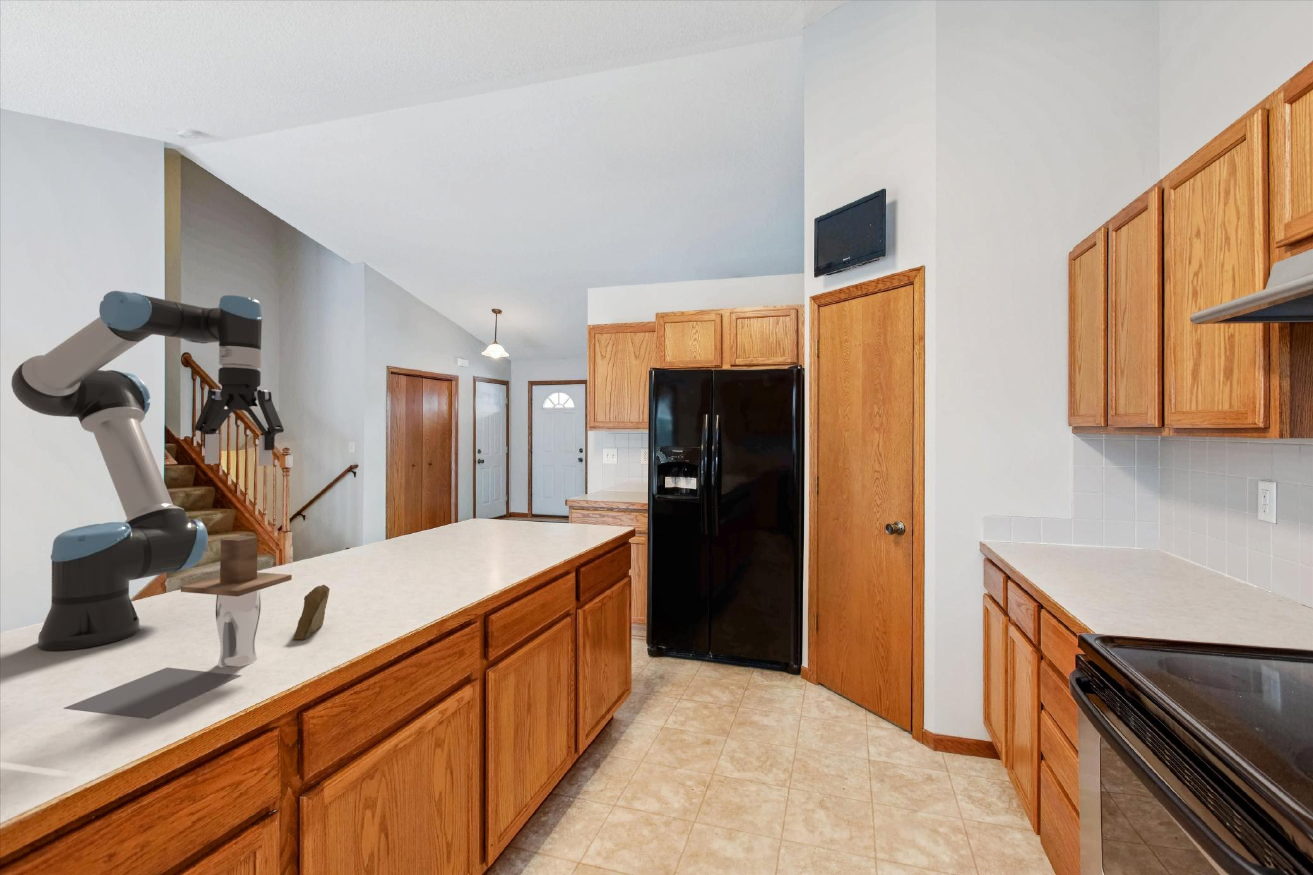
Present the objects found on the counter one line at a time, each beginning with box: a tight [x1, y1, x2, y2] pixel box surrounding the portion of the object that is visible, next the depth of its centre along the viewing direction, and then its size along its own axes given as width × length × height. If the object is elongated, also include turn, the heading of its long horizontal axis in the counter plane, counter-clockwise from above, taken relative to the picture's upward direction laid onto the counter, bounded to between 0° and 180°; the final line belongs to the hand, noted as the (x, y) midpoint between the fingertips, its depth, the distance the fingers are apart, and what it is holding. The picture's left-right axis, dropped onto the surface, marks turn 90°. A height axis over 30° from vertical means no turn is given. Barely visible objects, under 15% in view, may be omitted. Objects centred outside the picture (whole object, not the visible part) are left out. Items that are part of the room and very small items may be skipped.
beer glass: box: [214, 590, 262, 669], centre depth 109 cm, size 7×7×15 cm
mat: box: [64, 667, 242, 720], centre depth 96 cm, size 16×16×1 cm
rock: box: [292, 584, 330, 640], centre depth 127 cm, size 11×9×10 cm
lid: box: [180, 535, 293, 597], centre depth 109 cm, size 12×12×9 cm
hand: (238, 464), depth 126 cm, fingers open, 13 cm apart
